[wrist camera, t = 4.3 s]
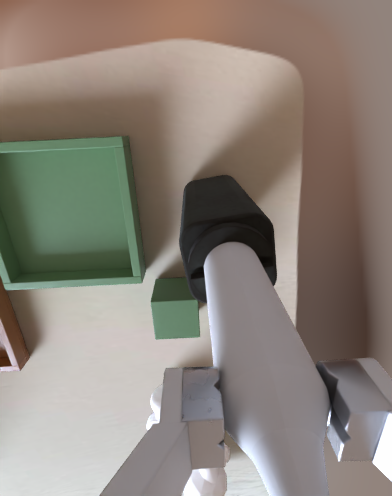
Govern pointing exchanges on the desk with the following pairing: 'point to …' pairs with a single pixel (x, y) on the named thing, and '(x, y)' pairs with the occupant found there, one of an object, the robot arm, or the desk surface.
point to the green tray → (69, 214)
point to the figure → (202, 480)
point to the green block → (174, 309)
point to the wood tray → (10, 337)
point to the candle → (254, 338)
